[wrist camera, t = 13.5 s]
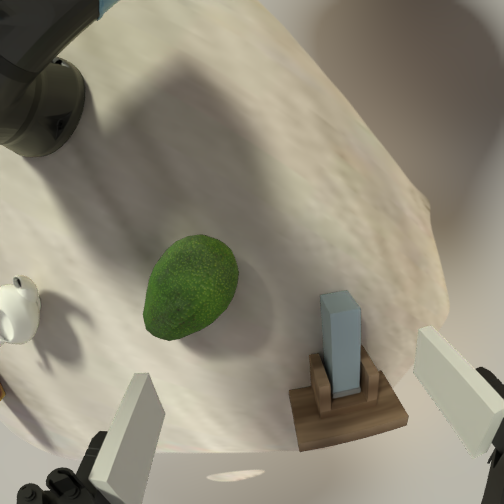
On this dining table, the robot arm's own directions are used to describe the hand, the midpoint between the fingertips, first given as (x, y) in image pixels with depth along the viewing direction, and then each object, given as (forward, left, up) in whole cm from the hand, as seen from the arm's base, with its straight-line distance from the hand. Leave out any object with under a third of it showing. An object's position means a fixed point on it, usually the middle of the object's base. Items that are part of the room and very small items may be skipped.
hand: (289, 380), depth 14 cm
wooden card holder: (+23, +9, -29) cm, 38 cm away
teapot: (+4, -39, -29) cm, 49 cm away
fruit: (+4, -10, -29) cm, 31 cm away
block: (+16, +9, -29) cm, 34 cm away
